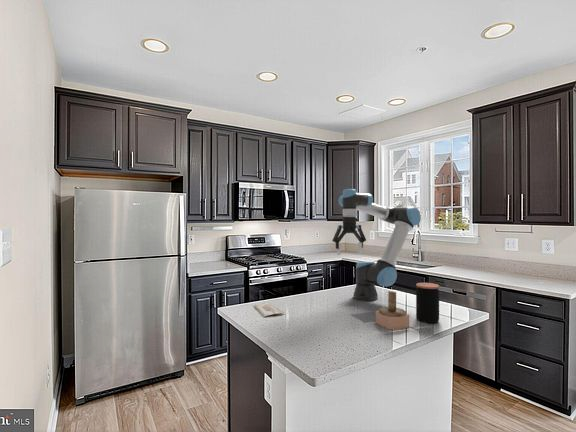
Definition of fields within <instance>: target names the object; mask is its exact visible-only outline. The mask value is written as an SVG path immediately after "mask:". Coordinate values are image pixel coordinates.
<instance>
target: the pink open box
mask: <svg viewBox="0 0 576 432" xmlns="http://www.w3.org/2000/svg"><path fill="white" fill-rule="evenodd" d="M375 313H376V321H375V323H376V324H378V325H380V326H381V327H384V328H386V329H387V330H397V329H398V330H399V329H404V328H410V314H408V313H406V315H405V316H401V317H392V316H386V315H382V314H380V313H379V309H378V310H375Z"/></svg>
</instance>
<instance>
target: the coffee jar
mask: <svg viewBox="0 0 576 432" xmlns="http://www.w3.org/2000/svg"><path fill="white" fill-rule="evenodd" d="M439 288H440V285H439V284H436V283H433V282H417V283H416V289H415V318H416V320H417V321H419V322H421V323H426V324H428V325H431V324H433V325H435V324H437V323H438V322H439V321H440V290H439Z"/></svg>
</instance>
